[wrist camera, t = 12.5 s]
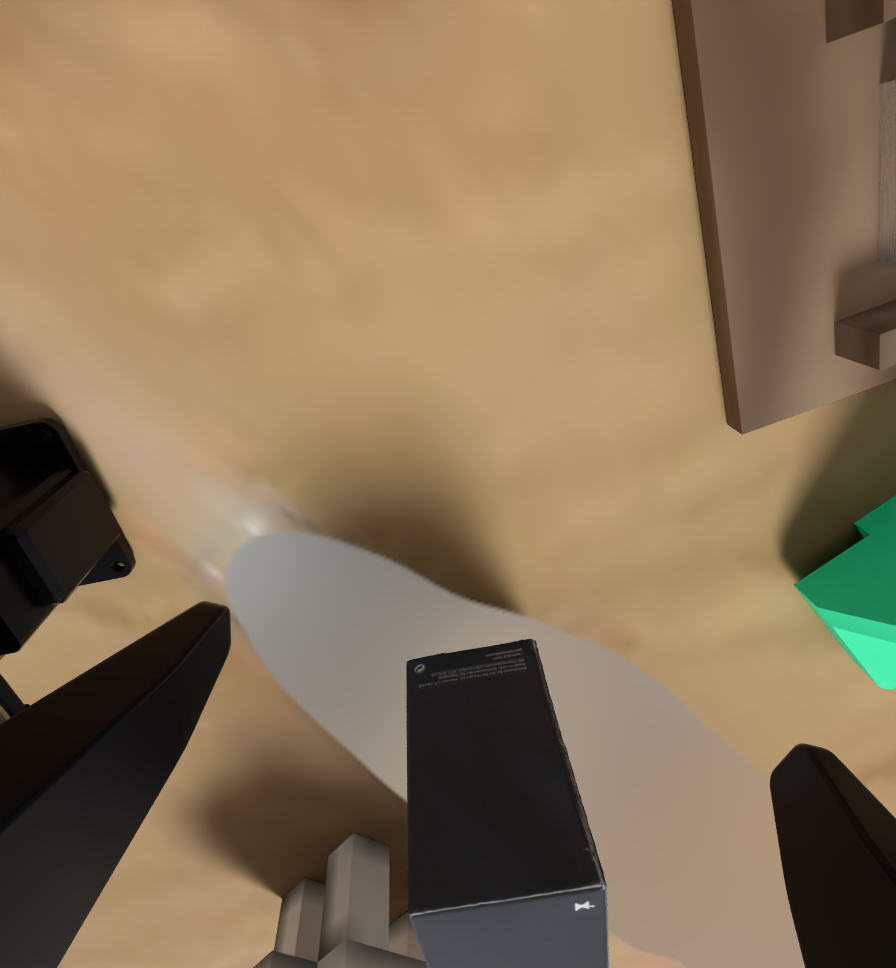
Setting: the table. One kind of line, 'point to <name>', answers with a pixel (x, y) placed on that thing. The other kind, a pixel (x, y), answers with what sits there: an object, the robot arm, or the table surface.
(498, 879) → the small box
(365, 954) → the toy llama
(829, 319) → the cradle
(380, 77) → the table surface
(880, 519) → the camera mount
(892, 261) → the block
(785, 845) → the robot arm
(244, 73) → the table surface
